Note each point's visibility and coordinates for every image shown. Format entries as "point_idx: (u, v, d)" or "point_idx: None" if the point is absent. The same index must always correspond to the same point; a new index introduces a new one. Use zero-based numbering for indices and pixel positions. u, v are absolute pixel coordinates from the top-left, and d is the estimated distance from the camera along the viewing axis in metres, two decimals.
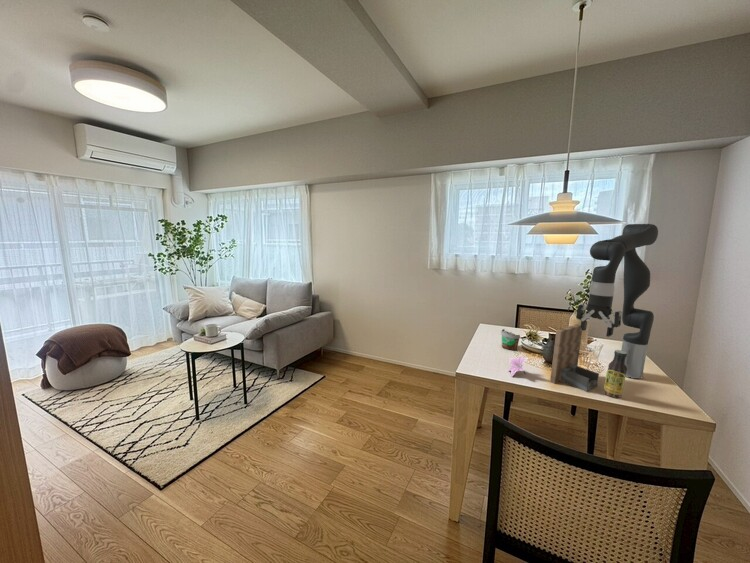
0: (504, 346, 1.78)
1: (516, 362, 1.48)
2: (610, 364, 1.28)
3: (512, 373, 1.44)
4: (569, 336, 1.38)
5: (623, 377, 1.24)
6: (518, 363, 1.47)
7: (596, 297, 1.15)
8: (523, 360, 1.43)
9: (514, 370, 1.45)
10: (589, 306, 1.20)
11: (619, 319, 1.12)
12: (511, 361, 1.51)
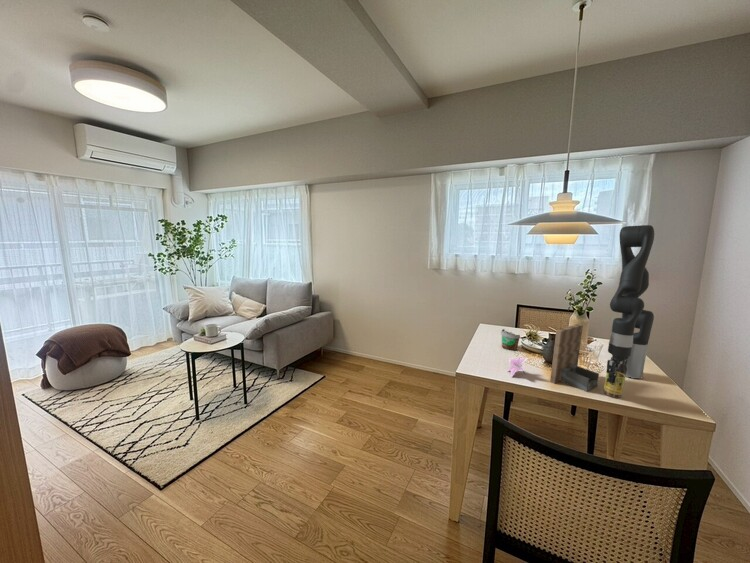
0: (504, 346, 1.78)
1: (515, 362, 1.48)
2: None
3: (512, 373, 1.44)
4: (569, 336, 1.38)
5: (623, 377, 1.24)
6: (517, 363, 1.47)
7: (631, 349, 1.22)
8: (522, 360, 1.43)
9: (514, 370, 1.45)
10: (618, 358, 1.23)
11: None
12: (510, 361, 1.50)
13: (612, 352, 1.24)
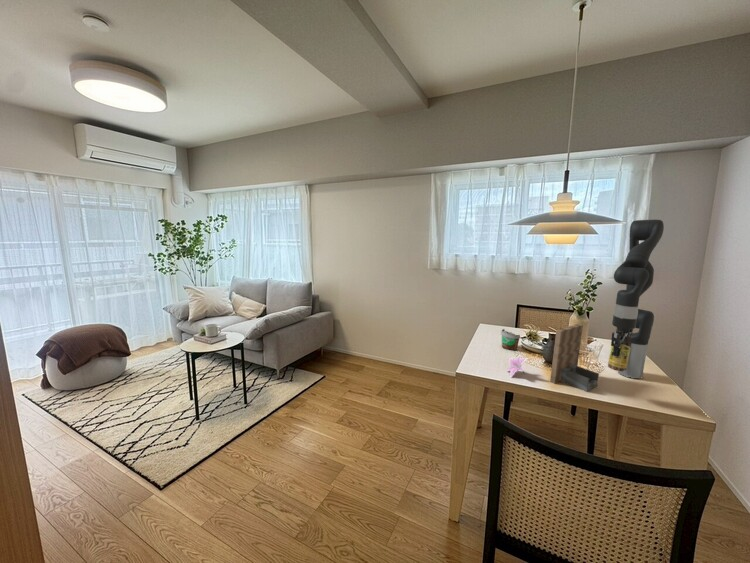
0: (504, 346, 1.78)
1: (515, 362, 1.48)
2: None
3: (511, 373, 1.44)
4: (569, 336, 1.38)
5: (628, 350, 1.22)
6: (517, 363, 1.47)
7: (635, 320, 1.20)
8: (522, 360, 1.43)
9: (513, 370, 1.45)
10: (623, 331, 1.21)
11: None
12: (510, 361, 1.50)
13: (616, 325, 1.22)
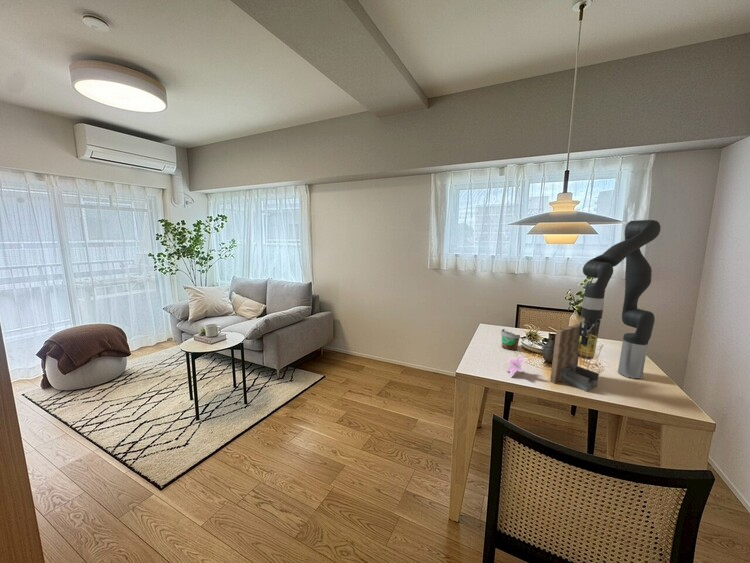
0: (504, 346, 1.78)
1: (515, 362, 1.48)
2: None
3: (511, 374, 1.44)
4: (569, 336, 1.38)
5: (595, 339, 1.30)
6: (517, 363, 1.47)
7: (601, 311, 1.28)
8: (522, 360, 1.43)
9: (513, 371, 1.44)
10: (590, 321, 1.29)
11: None
12: (510, 362, 1.50)
13: (584, 315, 1.31)
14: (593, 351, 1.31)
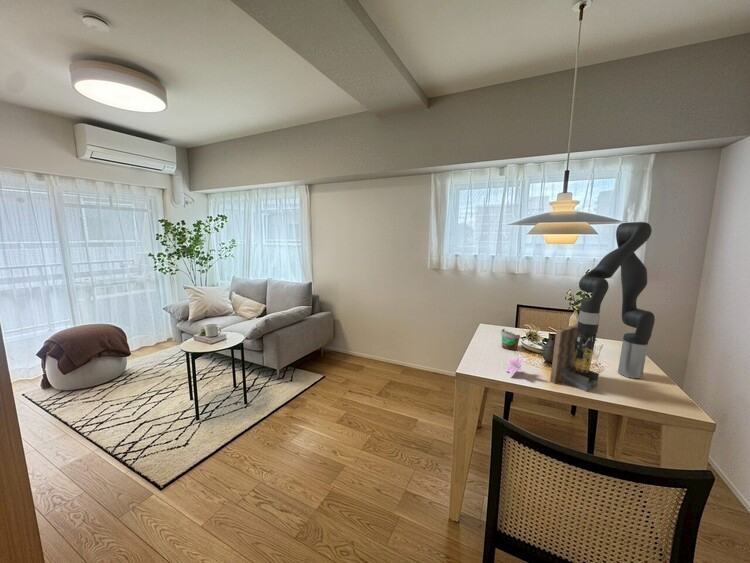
0: (504, 346, 1.78)
1: (514, 363, 1.47)
2: None
3: (511, 374, 1.44)
4: (569, 336, 1.38)
5: (590, 353, 1.32)
6: (516, 364, 1.47)
7: (597, 326, 1.30)
8: (521, 361, 1.43)
9: (513, 371, 1.44)
10: (585, 335, 1.31)
11: None
12: (509, 362, 1.50)
13: (580, 329, 1.32)
14: (589, 365, 1.33)
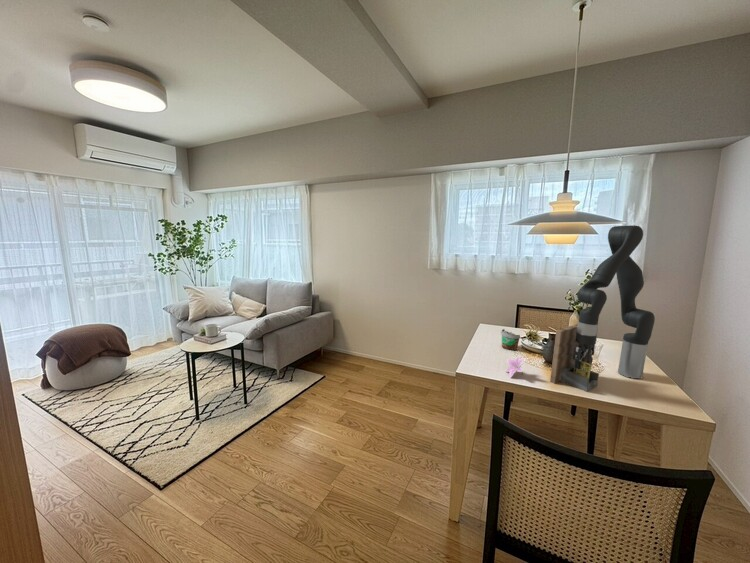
0: (504, 346, 1.78)
1: (514, 363, 1.47)
2: None
3: (510, 374, 1.43)
4: (569, 336, 1.38)
5: (589, 367, 1.33)
6: (516, 364, 1.46)
7: (595, 337, 1.31)
8: (521, 361, 1.42)
9: (512, 371, 1.44)
10: (584, 346, 1.32)
11: None
12: (509, 362, 1.50)
13: (579, 340, 1.33)
14: None
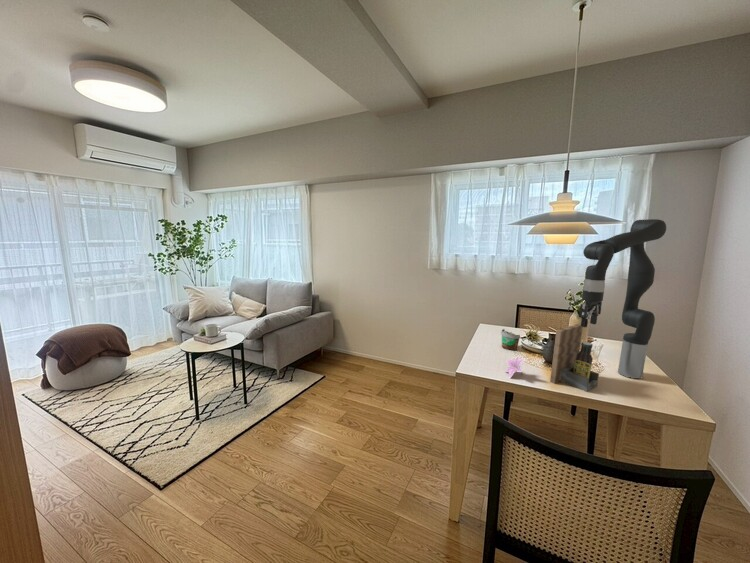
0: (504, 346, 1.78)
1: (513, 363, 1.47)
2: (578, 355, 1.37)
3: (510, 374, 1.43)
4: (569, 336, 1.38)
5: (589, 367, 1.33)
6: (515, 364, 1.46)
7: (602, 294, 1.27)
8: (521, 361, 1.42)
9: (512, 371, 1.44)
10: (591, 303, 1.29)
11: None
12: (508, 362, 1.49)
13: (585, 298, 1.30)
14: None
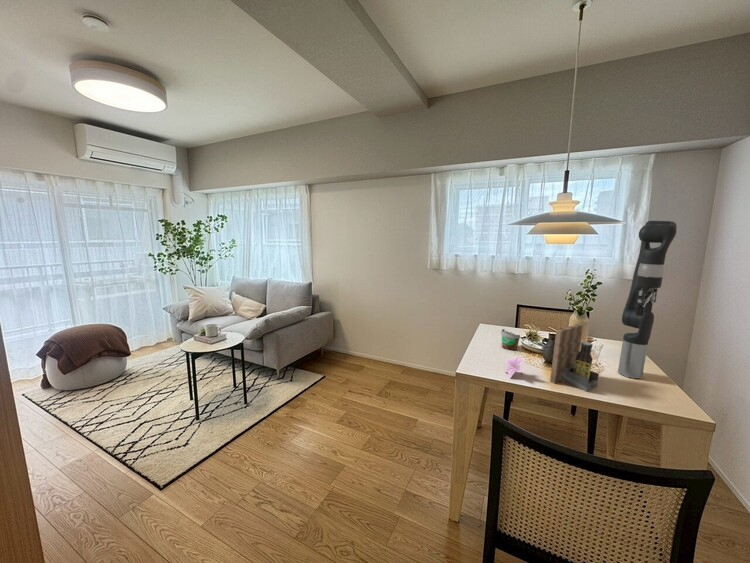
0: (504, 346, 1.78)
1: (513, 363, 1.47)
2: (577, 355, 1.37)
3: (510, 375, 1.43)
4: (569, 336, 1.38)
5: (589, 367, 1.33)
6: (515, 364, 1.46)
7: (661, 279, 1.17)
8: (520, 361, 1.42)
9: (511, 371, 1.43)
10: (648, 290, 1.18)
11: None
12: (508, 362, 1.49)
13: (641, 284, 1.19)
14: None
